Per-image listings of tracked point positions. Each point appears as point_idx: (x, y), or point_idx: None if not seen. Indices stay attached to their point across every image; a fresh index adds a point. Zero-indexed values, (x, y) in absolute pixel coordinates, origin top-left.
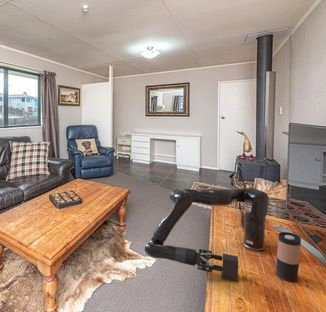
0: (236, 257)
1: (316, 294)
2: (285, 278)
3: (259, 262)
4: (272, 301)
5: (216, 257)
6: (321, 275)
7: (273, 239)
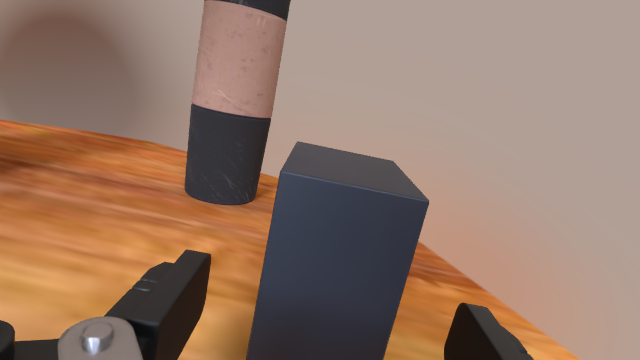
0: (323, 149)
1: None
2: (252, 192)
3: (96, 207)
4: (423, 267)
5: (177, 327)
6: None
7: None
